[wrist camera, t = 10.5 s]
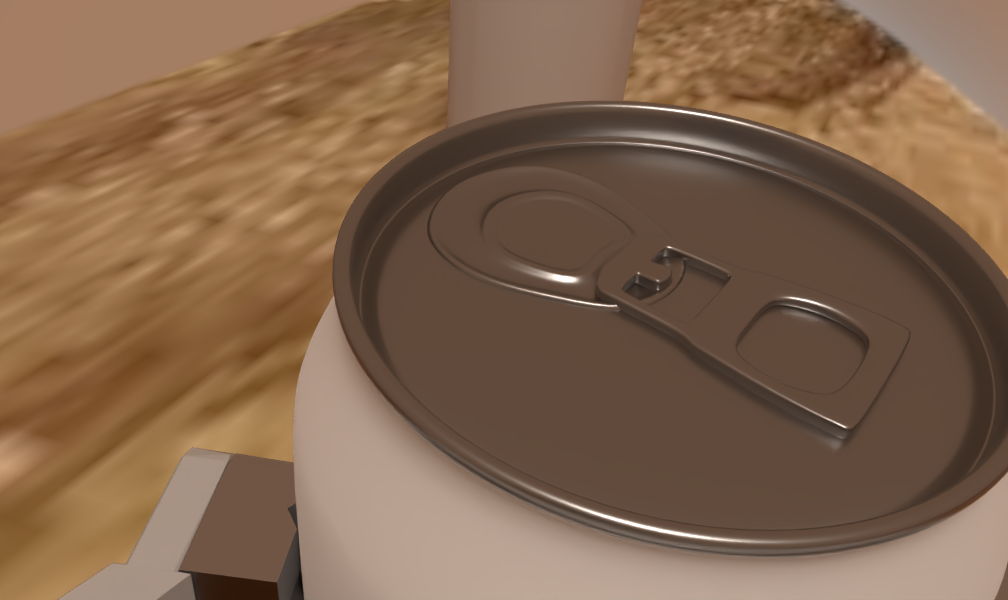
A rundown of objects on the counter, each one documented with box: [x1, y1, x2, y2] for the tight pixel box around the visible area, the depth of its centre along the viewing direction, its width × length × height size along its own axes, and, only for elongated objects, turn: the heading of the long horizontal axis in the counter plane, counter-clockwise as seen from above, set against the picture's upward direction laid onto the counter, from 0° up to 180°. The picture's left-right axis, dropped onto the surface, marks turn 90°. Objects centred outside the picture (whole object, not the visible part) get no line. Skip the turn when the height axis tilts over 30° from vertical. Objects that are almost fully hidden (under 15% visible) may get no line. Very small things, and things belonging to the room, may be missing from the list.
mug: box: [447, 0, 642, 128], centre depth 35 cm, size 10×7×12 cm, turn 0°
